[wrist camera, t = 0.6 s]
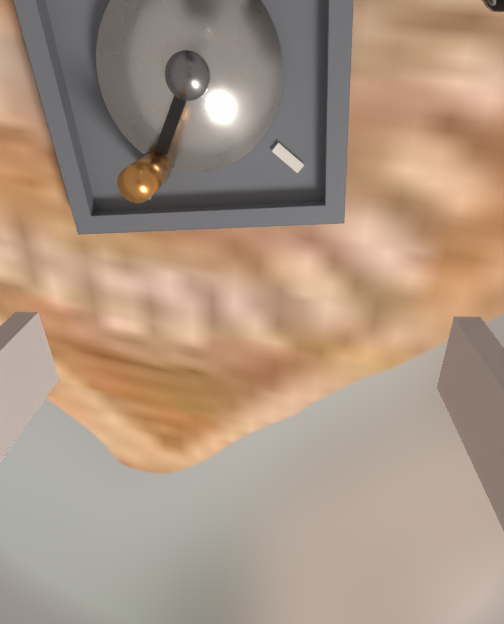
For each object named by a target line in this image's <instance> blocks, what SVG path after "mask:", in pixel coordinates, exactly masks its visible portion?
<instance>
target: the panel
mask: <svg viewBox="0 0 504 624" xmlns="http://www.w3.org/2000/svg"><path fill="white" fill-rule="evenodd" d="M13 1H14V5H15V8H16V12H17V15H18V19H19V23H20V26H21V30H22V33H23V37H24V41H25V44H26V48H27V51H28V55H29V59H30V62H31V66H32V70H33V73H34V77H35V80H36V84H37V88H38V91H39V95H40V98H41V102H42V106H43V109H44V113H45V116H46V120H47V124H48V127H49V131H50V135H51V138H52V142H53V145H54V149H55V153H56V156H57V160H58V163H59V167H60V171H61V174H62V178H63V181H64V185H65V189H66V192H67V196H68V200H69V203H70V207H71V210H72V214H73V218H74V221H75V225H76V228H77V232H78V234H102V233H125V232H149V231H173V230H197V229H221V228H245V227H268V226H292V225H316V224H340V223H344V218H345V193H346V169H347V145H348V120H349V96H350V71H351V47H352V22H353V0H261V1H262V3H263V5H264V6H265V8H266V9H267V11H268V13H269V15H270V17H271V19H272V21H273V24H274V26H275V29H276V32H277V35H278V38H279V42H280V47H281V51H282V59H283V85H282V92H281V98H280V101H279V105H278V109H277V112H276V114H275V116H274V119H273V121H272V123H271V125H270V127H269V129H268V130H267V132H266V134H265V135H264V136H263V138H262V139H261V140H260V142H259V143H258V144H257V145H256V146H255V147H254V148H253V149H252V150H251V151H250V152H249V153H248V154H246V155H245V156H244V157H243V158H241V159H240V160H238V161H236V162H234V163H233V164H231V165H228V166H226V167H224V168H220V169H217V170H213V171H206V172H186V171H180V170H176V169H172V168H171V173H170V177H169V178H168V180H167V181H166V182H165V183H164V184H163V185H162V186H161V187H160V188H159V189H158V190H157V191H156V192H155V193H154V194H153V195H152V196H151V197H150V198H149V199H148V200H147V201H145V202H143V203H133V202H130V201H128V200H126V199H125V198H124V197H123V196H122V195H121V193H120V192H119V189H118V186H117V179H118V175H119V174H120V172H121V171H122V170H123V169H125V168H126V167H128V166H129V165H131V164H132V163H134V162H135V161H137V160H138V159H140V158H141V157H143V156H144V154H143V153H142V152H140V151H139V150H138V149H137V148H136V147H135V146H133V145H132V144H131V143H130V142H129V141H128V140H127V138H126V137H125V136H124V135H123V134H122V132H121V131H120V130H119V128H118V127H117V125H116V124H115V122H114V121H113V119H112V117H111V115H110V113H109V111H108V109H107V107H106V104H105V102H104V99H103V96H102V93H101V89H100V86H99V81H98V75H97V68H96V46H97V37H98V32H99V27H100V24H101V21H102V17H103V14H104V12H105V10H106V8H107V6H108V4H109V1H110V0H13Z"/></svg>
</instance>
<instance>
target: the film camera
mask: <svg viewBox="0 0 504 624" xmlns="http://www.w3.org/2000/svg"><path fill="white" fill-rule="evenodd" d="M483 1H484V3H485V5H486V7H487V8H489V9H490V10H491V11H493V12H503V11H504V0H483Z"/></svg>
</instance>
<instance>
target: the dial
mask: <svg viewBox="0 0 504 624" xmlns="http://www.w3.org/2000/svg"><path fill="white" fill-rule="evenodd" d="M96 68H97V75H98V81H99V86H100V89H101V93H102V96H103V99H104V102H105V104H106V107H107V109H108V111H109V113H110V115H111V117H112V119H113V121H114V122H115V124H116V125H117V127H118V128H119V130H120V131H121V132H122V134H123V135H124V136H125V137H126V138H127V140H128V141H129V142H130V143H131V144H132V145H133V146H135V147H136V148H137V149H138V150H139V151H140V152H142V153H143V154H144V156H143V157H141V158H140V159H138V160H137V161H135V162H134V163H132V164H131V165H129V166H128V167H126V168H125V169H123V170H122V171H121V172H120V174H119V175H118V179H117V186H118V189H119V192H120V193H121V195H122V196H123V197H124V198H125V199H126V200H128V201H130V202H133V203H143V202H145V201H147V200H148V199H149V198H150V197H151V196H152V195H153V194H154V193H155V192H156V191H157V190H158V189H159V188H160V187H161V186H162V185H163V184H164V183H165V182H166V181H167V180H168V178H169V177H170V173H171V168H172V169H176V170H180V171H186V172H206V171H213V170H217V169H220V168H224V167H226V166H228V165H231V164H233V163H234V162H236V161H238V160H240V159H241V158H243V157H244V156H245V155H246V154H248V153H249V152H250V151H251V150H252V149H253V148H254V147H255V146H256V145H257V144H258V143H259V142H260V140H261V139H262V138H263V136H264V135H265V134H266V132H267V130H268V129H269V127H270V125H271V123H272V121H273V119H274V116H275V114H276V112H277V109H278V105H279V101H280V98H281V92H282V85H283V59H282V51H281V47H280V42H279V38H278V35H277V32H276V29H275V26H274V24H273V21H272V19H271V17H270V15H269V13H268V11H267V9H266V8H265V6H264V5H263V3H262V1H261V0H110V1H109V4H108V6H107V8H106V10H105V12H104V14H103V17H102V21H101V24H100V27H99V32H98V37H97V46H96Z"/></svg>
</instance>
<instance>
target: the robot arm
mask: <svg viewBox="0 0 504 624" xmlns="http://www.w3.org/2000/svg"><path fill="white" fill-rule="evenodd" d="M58 380H59V377H58V374H57V370H56V367H55V364H54V361H53V358H52V355H51V351H50V348H49V345H48V342H47V339H46V336H45V332H44V329H43V326H42V323H41V320H40V317H39V313H38V312H15V313H14V314H13V315H12V316H11V317H10V318H9V319H8V320H7V321H5V322H4V323H3V324H2V325H1V326H0V462H1V460H2V459H3V457H4V456H5V455H6V453H7V452H8V451H9V449H10V448H11V446H12V445H13V443H14V442H15V441H16V439H17V438H18V436H19V435H20V434H21V432H22V430H23V429H24V428H25V427H26V425H27V424H28V422H29V421H30V420H31V418H32V417H33V415H34V414H35V413H36V411H37V410H38V408H39V407H40V405H41V404H42V403H43V401H44V400H45V399H46V397H47V396H48V394H49V393H50V392H51V390H52V389H53V387H54V386H55V384H56V383H57V382H58ZM437 388H438V391H439V392H440V395H441V397H442V399H443V401H444V403H445V406H446V408H447V410H448V412H449V414H450V416H451V418H452V421H453V423H454V425H455V427H456V429H457V431H458V433H459V436H460V438H461V440H462V442H463V444H464V446H465V449H466V451H467V453H468V455H469V457H470V459H471V461H472V463H473V465H474V468H475V470H476V472H477V474H478V477H479V479H480V481H481V483H482V485H483V487H484V489H485V492H486V494H487V496H488V498H489V500H490V502H491V504H492V506H493V509H494V511H495V513H496V515H497V517H498V520H499V522H500V524H501V526H502V528H503V530H504V348H503V346H502V345H501V344H500V342H499V341H498V340H497V339H496V337H495V336H494V335H493V333H492V332H491V331H490V329H489V328H488V327H487V325H486V324H485V323H484V321H483V320H482V319H481V318H480V317H454V319H453V323H452V327H451V331H450V335H449V340H448V344H447V348H446V352H445V357H444V361H443V365H442V369H441V373H440V377H439V382H438V386H437Z"/></svg>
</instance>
